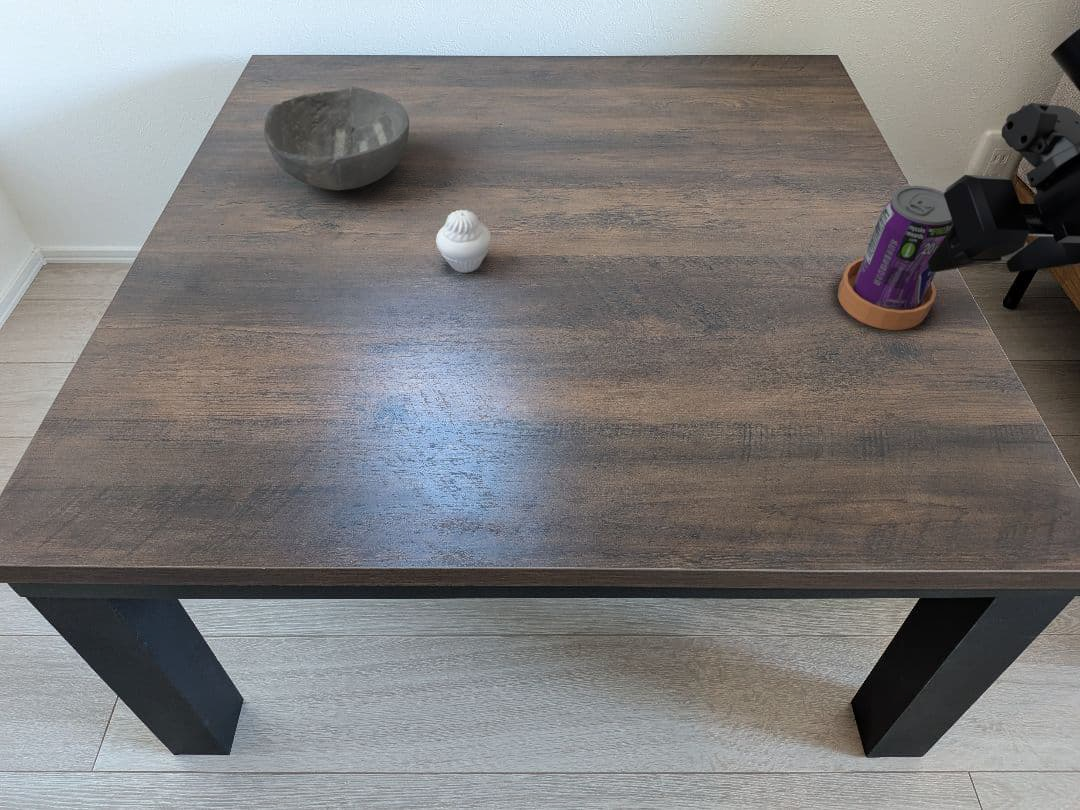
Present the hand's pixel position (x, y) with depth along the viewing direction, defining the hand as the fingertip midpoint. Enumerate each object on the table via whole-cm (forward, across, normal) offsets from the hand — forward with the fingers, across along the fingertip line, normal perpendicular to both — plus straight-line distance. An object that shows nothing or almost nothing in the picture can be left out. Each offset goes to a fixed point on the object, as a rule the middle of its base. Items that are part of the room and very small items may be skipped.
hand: (970, 267), depth 70 cm
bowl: (+42, +48, -35) cm, 74 cm away
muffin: (+31, +38, -16) cm, 51 cm away
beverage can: (+14, -4, -4) cm, 15 cm away
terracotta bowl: (+15, -4, -4) cm, 16 cm away
